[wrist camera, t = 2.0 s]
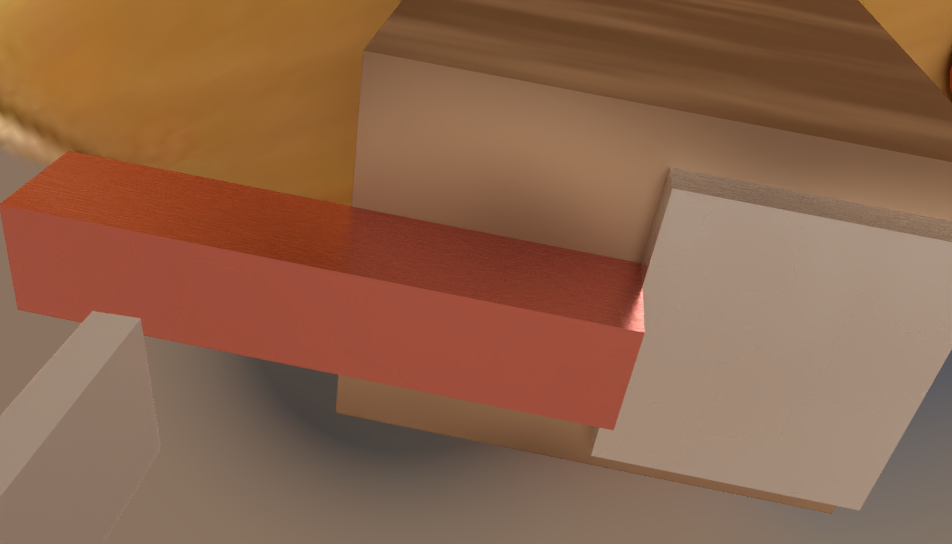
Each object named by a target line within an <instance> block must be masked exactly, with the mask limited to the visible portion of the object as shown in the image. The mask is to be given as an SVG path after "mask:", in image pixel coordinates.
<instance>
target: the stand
mask: <svg viewBox="0 0 952 544" xmlns="http://www.w3.org/2000/svg"><path fill="white" fill-rule="evenodd" d="M670 167H672V168H677V169H682V170H688V171H693V172H698V173H703V174H709V175H714V176H719V177H724V178H729V179H735V180H740V181H745V182H750V183H755V184H761V185H766V186H771V187H776V188H781V189H787V190H792V191H797V192H802V193H807V194H813V195H818V196H823V197H828V198H834V199H839V200H844V201H849V202H854V203H860V204H865V205H870V206H875V207H880V208H886V209H891V210H896V211H901V212H906V213H912V214H917V215H922V216H927V217H933V218H938V219H943V220H948V221H952V103H951V101H950V100H949V99H948V98H947V97H946V96H945V95H944V94H943V93H942V92H941V90H940V89H939V88H938V87H937V86H936V85H935V84H934V83H933V82H932V81H931V80H930V78H929V77H928V76H927V75H926V74H925V73H924V72H923V71H922V70H921V69H920V67H919V66H918V65H917V64H916V63H915V62H914V61H913V60H912V59H911V58H910V57H909V55H908V54H907V53H906V52H905V51H904V50H903V49H902V48H901V47H900V46H899V45H898V43H897V42H896V41H895V40H894V39H893V38H892V37H891V36H890V35H889V34H888V32H887V31H886V30H885V29H884V28H883V27H882V26H881V25H880V24H879V23H878V22H877V20H876V19H875V18H874V17H873V16H872V15H871V14H870V13H869V12H868V11H867V9H866V8H865V7H864V6H863V5H862V4H861V3H860V2H859V1H858V0H402V2H401V3H400V4H399V5H398V7H397V8H396V9H395V11H394V12H393V13H392V15H391V16H390V17H389V18H388V20H387V21H386V22H385V24H384V25H383V26H382V27H381V29H380V30H379V31H378V33H377V34H376V35H375V36H374V38H373V39H372V40H371V42H370V43H369V44H368V45H367V47H366V48H365V49H364V51H363V63H362V76H361V89H360V102H359V115H358V128H357V141H356V154H355V167H354V180H353V193H352V207H357V208H362V209H367V210H372V211H377V212H382V213H387V214H393V215H398V216H403V217H408V218H413V219H418V220H423V221H428V222H433V223H439V224H444V225H449V226H454V227H459V228H464V229H469V230H474V231H479V232H484V233H490V234H495V235H500V236H505V237H510V238H515V239H520V240H525V241H530V242H535V243H541V244H546V245H551V246H556V247H561V248H566V249H571V250H576V251H581V252H587V253H592V254H597V255H602V256H607V257H612V258H617V259H622V260H627V261H632V262H638V263H641V261H642V258H643V255H644V251H645V248H646V245H647V241H648V238H649V235H650V231H651V228H652V225H653V221H654V218H655V215H656V211H657V208H658V205H659V201H660V198H661V195H662V191H663V188H664V184H665V181H666V178H667V174H668V171H669V168H670ZM336 413H340V414H346V415H350V416H355V417H360V418H366V419H370V420H375V421H380V422H384V423H389V424H394V425H399V426H405V427H409V428H414V429H419V430H424V431H429V432H433V433H438V434H444V435H448V436H453V437H458V438H463V439H468V440H473V441H478V442H482V443H488V444H492V445H497V446H502V447H507V448H512V449H517V450H522V451H527V452H532V453H537V454H541V455H546V456H551V457H556V458H561V459H566V460H571V461H576V462H581V463H586V464H590V465H595V466H601V467H605V468H610V469H615V470H620V471H624V472H629V473H634V474H639V475H644V476H649V477H654V478H659V479H664V480H669V481H674V482H679V483H683V484H688V485H693V486H698V487H703V488H708V489H713V490H718V491H722V492H727V493H732V494H737V495H742V496H747V497H752V498H757V499H762V500H766V501H771V502H776V503H781V504H786V505H791V506H796V507H801V508H806V509H811V510H815V511H820V512H826V513H830V514H832V513H833V511H834V509H835V507H836V506H835V505H831V504H826V503H821V502H816V501H811V500H806V499H801V498H796V497H791V496H786V495H781V494H777V493H772V492H767V491H762V490H757V489H752V488H747V487H742V486H737V485H732V484H728V483H723V482H718V481H713V480H708V479H703V478H698V477H693V476H688V475H683V474H678V473H674V472H669V471H664V470H659V469H654V468H649V467H644V466H639V465H634V464H629V463H624V462H620V461H615V460H610V459H605V458H600V457H595V456H591V434H592V426H589V425H584V424H579V423H575V422H570V421H565V420H560V419H555V418H550V417H545V416H540V415H535V414H530V413H525V412H520V411H515V410H510V409H505V408H501V407H496V406H491V405H486V404H481V403H476V402H471V401H466V400H461V399H456V398H451V397H446V396H441V395H436V394H431V393H426V392H422V391H417V390H412V389H407V388H402V387H397V386H392V385H387V384H382V383H377V382H372V381H367V380H362V379H357V378H352V377H348V376H343V375H338V389H337V401H336Z"/></svg>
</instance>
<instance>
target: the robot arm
mask: <svg viewBox="0 0 952 544" xmlns="http://www.w3.org/2000/svg"><path fill="white" fill-rule="evenodd" d="M160 450H161V444H160V437H159V431H158V424H157V418H156V412H155V405H154V400H153V393H152V386H151V380H150V374H149V367H148V361H147V355H146V349H145V343H144V336H143V330H142V323H141V318H135V317H129V316H122V315H116V314H109V313H103V312H96V311H92V312H91V313H90V314H89V315H88V316H87V318H86V319H85V320H84V321H83V322H82V323H81V324H80V326H79V327H78V328H77V329H76V330H75V331H74V333H73V334H72V335H71V336H70V337H69V338H68V339H67V340H66V342H65V343H64V344H63V345H62V346H61V347H60V348H59V349H58V351H57V352H56V353H55V354H54V355H53V356H52V357H51V359H50V360H49V361H48V362H47V363H46V364H45V365H44V367H43V368H42V369H41V370H40V371H39V372H38V373H37V374H36V376H35V377H34V378H33V379H32V380H31V381H30V382H29V384H28V385H27V386H26V387H25V388H24V389H23V390H22V391H21V393H20V394H19V395H18V396H17V397H16V398H15V399H14V401H13V402H12V403H11V404H10V405H9V406H8V407H7V409H6V410H5V411H4V412H3V413H2V414H1V415H0V544H103V542H104V541H105V539H106V538H107V536H108V534H109V533H110V531H111V529H112V528H113V526H114V525H115V523H116V521H117V520H118V518H119V517H120V515H121V513H122V512H123V510H124V508H125V507H126V505H127V504H128V502H129V500H130V499H131V497H132V496H133V494H134V492H135V491H136V489H137V487H138V486H139V484H140V483H141V481H142V479H143V478H144V476H145V475H146V473H147V471H148V470H149V468H150V467H151V465H152V463H153V462H154V460H155V458H156V457H157V455H158V454H159V452H160Z"/></svg>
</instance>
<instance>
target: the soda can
mask: <svg viewBox="0 0 952 544" xmlns="http://www.w3.org/2000/svg"><path fill="white" fill-rule="evenodd" d="M949 80H950V90H951V94H952V64H951V69H950V79H949Z"/></svg>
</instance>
